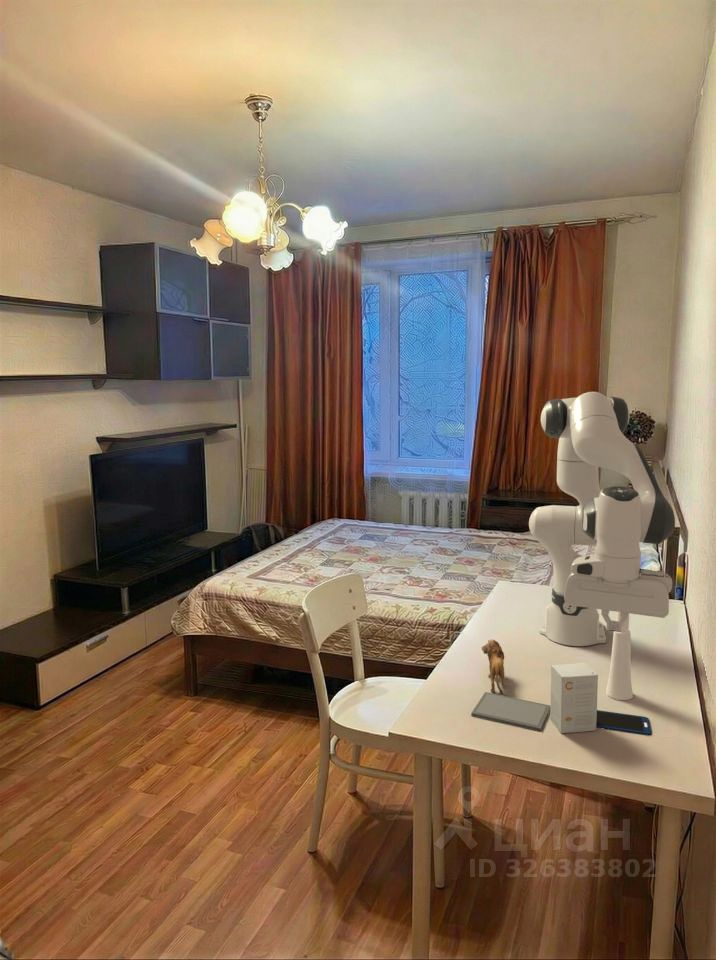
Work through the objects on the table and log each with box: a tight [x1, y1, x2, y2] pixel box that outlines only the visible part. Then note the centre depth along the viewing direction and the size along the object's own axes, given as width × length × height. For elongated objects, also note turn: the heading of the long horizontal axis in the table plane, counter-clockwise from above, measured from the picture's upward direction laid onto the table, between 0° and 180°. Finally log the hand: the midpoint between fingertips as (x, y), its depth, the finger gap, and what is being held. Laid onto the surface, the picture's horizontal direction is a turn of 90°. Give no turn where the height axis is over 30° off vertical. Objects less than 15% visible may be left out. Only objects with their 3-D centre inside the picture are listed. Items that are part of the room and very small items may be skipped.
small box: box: [549, 662, 599, 734], centre depth 142 cm, size 8×6×13 cm
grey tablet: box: [470, 691, 551, 732], centre depth 149 cm, size 11×16×1 cm
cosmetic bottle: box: [605, 612, 634, 701], centre depth 155 cm, size 6×6×22 cm
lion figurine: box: [481, 639, 507, 695], centre depth 163 cm, size 15×5×9 cm, turn 1°
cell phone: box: [596, 709, 652, 736], centre depth 144 cm, size 7×14×1 cm, turn 71°
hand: (614, 630), depth 136 cm, fingers closed
